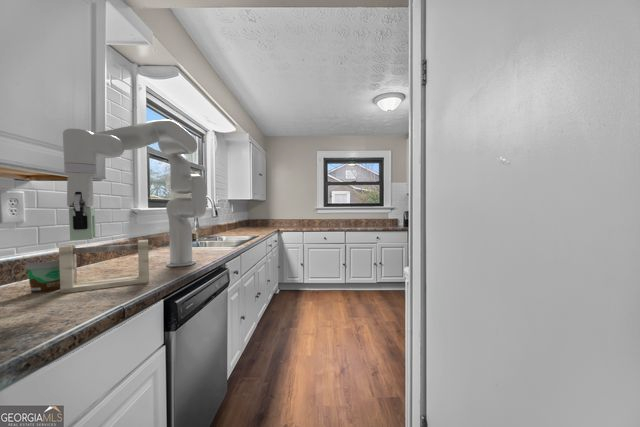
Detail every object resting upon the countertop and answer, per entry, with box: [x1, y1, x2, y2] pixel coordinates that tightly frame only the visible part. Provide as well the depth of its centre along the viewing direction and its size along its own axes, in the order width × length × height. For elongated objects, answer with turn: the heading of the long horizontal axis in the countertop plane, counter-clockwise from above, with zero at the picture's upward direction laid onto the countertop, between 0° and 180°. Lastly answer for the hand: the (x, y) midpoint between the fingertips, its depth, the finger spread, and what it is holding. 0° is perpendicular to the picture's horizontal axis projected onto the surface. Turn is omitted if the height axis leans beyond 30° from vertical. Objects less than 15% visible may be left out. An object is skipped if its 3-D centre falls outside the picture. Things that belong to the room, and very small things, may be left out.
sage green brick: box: [68, 207, 97, 241], centre depth 85 cm, size 7×5×10 cm
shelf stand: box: [58, 239, 150, 295], centre depth 96 cm, size 6×24×15 cm, turn 121°
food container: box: [24, 259, 60, 294], centre depth 93 cm, size 12×6×10 cm, turn 168°
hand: (83, 227), depth 85 cm, fingers closed on sage green brick, 7 cm apart
